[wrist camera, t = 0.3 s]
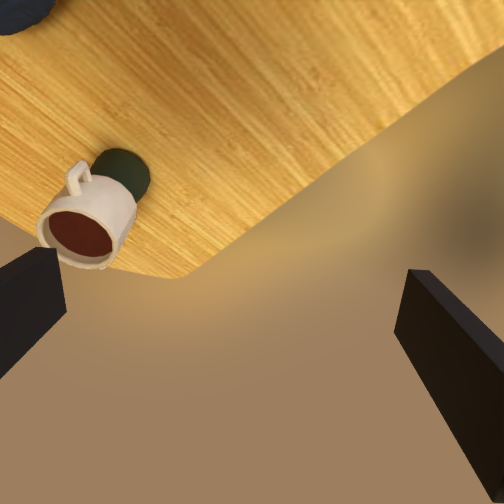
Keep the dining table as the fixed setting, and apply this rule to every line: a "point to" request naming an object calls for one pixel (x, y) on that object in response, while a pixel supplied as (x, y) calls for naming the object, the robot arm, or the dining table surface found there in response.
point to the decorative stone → (22, 14)
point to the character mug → (94, 210)
